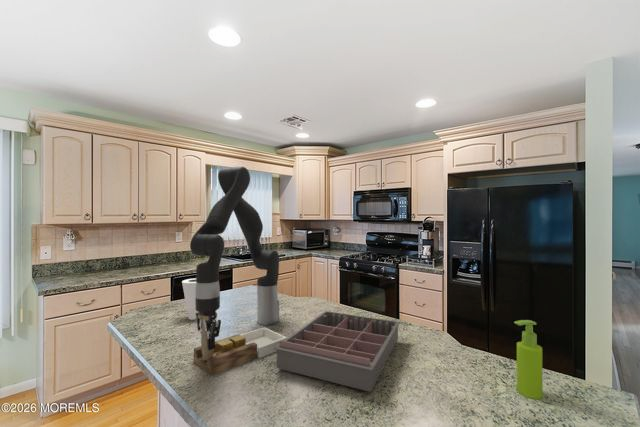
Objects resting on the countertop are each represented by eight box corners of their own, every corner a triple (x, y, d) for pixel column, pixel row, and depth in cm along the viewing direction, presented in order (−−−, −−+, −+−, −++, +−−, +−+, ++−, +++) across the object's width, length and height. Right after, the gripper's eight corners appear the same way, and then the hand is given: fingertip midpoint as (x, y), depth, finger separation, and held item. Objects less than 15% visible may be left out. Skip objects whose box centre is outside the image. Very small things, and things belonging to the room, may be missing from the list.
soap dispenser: (508, 387, 87) (508, 317, 87) (531, 386, 87) (530, 317, 87) (523, 399, 81) (523, 325, 81) (548, 398, 82) (547, 324, 82)
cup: (210, 316, 147) (210, 279, 147) (190, 323, 138) (190, 284, 138) (196, 313, 152) (196, 277, 152) (177, 319, 143) (177, 281, 143)
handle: (208, 364, 96) (207, 317, 96) (195, 359, 99) (195, 313, 99) (220, 358, 100) (220, 313, 100) (207, 353, 103) (207, 309, 103)
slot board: (238, 345, 114) (238, 333, 114) (257, 357, 105) (257, 344, 105) (193, 361, 102) (193, 348, 102) (210, 375, 93) (210, 361, 93)
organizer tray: (400, 342, 118) (400, 316, 118) (372, 399, 82) (372, 362, 82) (325, 329, 131) (325, 306, 131) (273, 373, 95) (273, 341, 95)
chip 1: (227, 350, 106) (227, 338, 106) (232, 353, 103) (232, 342, 104) (216, 354, 103) (216, 342, 103) (222, 357, 101) (222, 345, 101)
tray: (264, 335, 124) (264, 327, 124) (287, 346, 114) (287, 337, 114) (236, 345, 115) (236, 335, 115) (259, 358, 105) (259, 348, 105)
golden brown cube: (239, 345, 110) (239, 334, 110) (245, 349, 107) (245, 338, 107) (229, 349, 107) (229, 338, 107) (235, 352, 104) (235, 341, 104)
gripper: (229, 296, 97) (229, 350, 97) (209, 288, 107) (209, 337, 107) (206, 301, 92) (206, 358, 92) (187, 293, 102) (187, 343, 102)
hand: (208, 346), depth 99 cm, fingers closed on handle, 4 cm apart
